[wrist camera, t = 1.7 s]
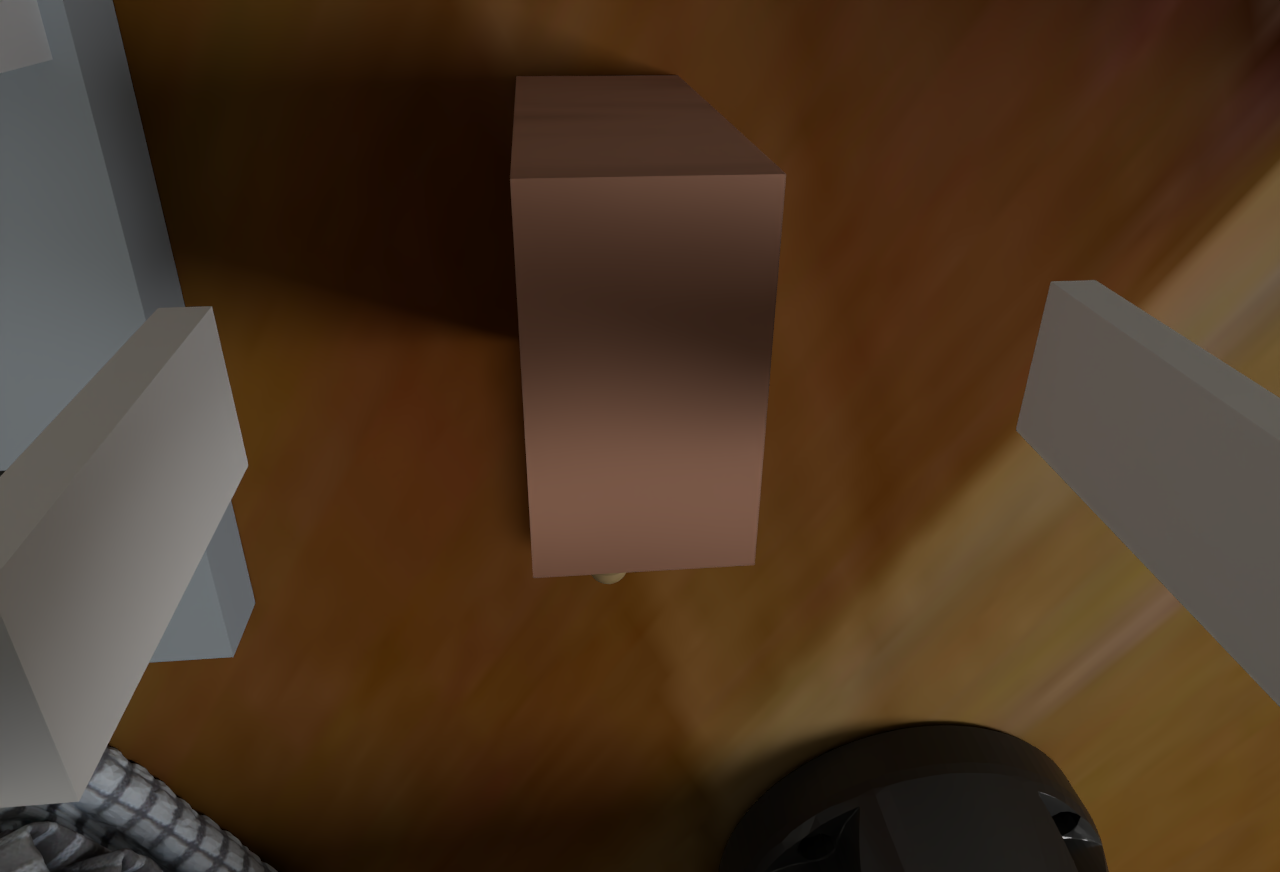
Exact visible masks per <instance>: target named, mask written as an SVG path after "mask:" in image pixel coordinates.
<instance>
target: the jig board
mask: <svg viewBox="0 0 1280 872" xmlns="http://www.w3.org/2000/svg"><path fill="white" fill-rule="evenodd" d="M170 307H185V304H184V300H183V296H182V291H181V287H180V283H179V279H178V275H177V270H176V266H175V262H174V258H173V253H172V249H171V245H170V241H169V237H168V232H167V228H166V224H165V220H164V215H163V211H162V207H161V203H160V199H159V194H158V190H157V186H156V182H155V177H154V173H153V169H152V165H151V161H150V156H149V152H148V148H147V144H146V139H145V135H144V131H143V127H142V123H141V118H140V114H139V110H138V106H137V101H136V97H135V93H134V89H133V85H132V80H131V76H130V72H129V68H128V63H127V59H126V55H125V51H124V47H123V42H122V38H121V34H120V30H119V25H118V21H117V17H116V13H115V9H114V4H113V0H0V471H6V470H7V469H8V468H9V467H10V466H11V465H12V464H13V462H14V461H15V460H16V459H17V458H18V457H19V456H20V455H21V454H22V453H23V452H24V451H25V450H26V449H27V447H28V446H29V445H30V444H31V443H32V442H33V441H34V440H35V439H36V438H37V437H38V436H39V435H40V434H41V433H42V431H43V430H44V429H45V428H46V427H47V426H48V425H49V424H50V423H51V422H52V421H53V420H54V419H55V418H56V416H57V415H58V414H59V413H60V412H61V411H62V410H63V409H64V408H65V407H66V406H67V405H68V404H69V403H70V402H71V400H72V399H73V398H74V397H75V396H76V395H77V394H78V393H79V392H80V391H81V390H82V389H83V388H84V387H85V385H86V384H87V383H88V382H89V381H90V380H91V379H92V378H93V377H94V376H95V375H96V374H97V373H98V372H99V371H100V369H101V368H102V367H103V366H104V365H105V364H106V363H107V362H108V361H109V360H110V359H111V358H112V357H113V356H114V354H115V353H116V352H117V351H118V350H119V349H120V348H121V347H122V346H123V345H124V344H125V343H126V342H127V341H128V340H129V338H130V337H131V336H132V335H133V334H134V333H135V332H136V331H137V330H138V329H139V328H140V327H141V326H142V325H143V323H144V322H145V321H146V320H147V319H148V318H149V317H150V316H151V315H152V314H153V313H154V312H155V311H156V310H157V309H158V308H170ZM254 605H255V600H254V595H253V591H252V587H251V583H250V579H249V574H248V570H247V566H246V562H245V557H244V553H243V549H242V545H241V541H240V536H239V532H238V528H237V524H236V519H235V515H234V511H233V507H232V503H231V501H230V503H229V505H228V507H227V509H226V511H225V513H224V515H223V517H222V519H221V521H220V522H219V524H218V526H217V528H216V530H215V532H214V534H213V536H212V538H211V540H210V542H209V544H208V546H207V548H206V550H205V552H204V554H203V556H202V558H201V560H200V562H199V564H198V566H197V568H196V570H195V572H194V574H193V576H192V578H191V580H190V582H189V584H188V586H187V588H186V590H185V592H184V594H183V596H182V598H181V600H180V602H179V604H178V606H177V608H176V610H175V612H174V614H173V616H172V618H171V620H170V622H169V624H168V626H167V628H166V630H165V632H164V634H163V636H162V638H161V640H160V642H159V644H158V646H157V648H156V650H155V652H154V654H153V656H152V658H151V660H150V662H164V661H180V660H195V659H210V658H225V657H234V654H235V652H236V649H237V647H238V644H239V642H240V639H241V637H242V635H243V632H244V630H245V627H246V625H247V622H248V620H249V617H250V615H251V612H252V610H253V607H254Z"/></svg>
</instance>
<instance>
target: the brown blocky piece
mask: <svg viewBox="0 0 1280 872" xmlns="http://www.w3.org/2000/svg"><path fill="white" fill-rule="evenodd" d="M785 182H786V173H784V172H783V171H782V170H781V169H780V168H779V167H778V166H777V165H776V164H775V163H773V162H772V161H771V160H770V159H769V158H768V157H767V156H766V155H765V154H764V153H762V152H761V151H760V150H759V149H758V148H757V147H756V146H755V145H754V144H753V143H752V142H750V141H749V140H748V139H747V138H746V137H745V136H744V135H743V134H742V133H741V132H739V131H738V130H737V129H736V128H735V127H734V126H733V125H732V124H731V123H730V122H728V121H727V120H726V119H725V118H724V117H723V116H722V115H721V114H720V113H719V112H717V111H716V110H715V109H714V108H713V107H712V106H711V105H710V104H709V103H708V102H707V101H705V100H704V99H703V98H702V97H701V96H700V95H699V94H698V93H697V92H696V91H694V90H693V89H692V88H691V87H690V86H689V85H688V84H687V83H686V82H685V81H683V80H682V79H681V78H680V77H679V76H678V75H631V76H516V89H515V106H514V122H513V138H512V155H511V171H510V187H511V204H512V221H513V239H514V256H515V273H516V290H517V308H518V325H519V342H520V359H521V377H522V394H523V411H524V428H525V446H526V463H527V480H528V497H529V515H530V532H531V549H532V566H533V578H542V577H559V576H576V575H592V576H593V578H594V579H596V580H597V581H598V582H601V583H604V584H612V583H615V582H618V581H619V580H620V579H622V578H623V576H624V575H625V574H626V572H643V571H660V570H677V569H693V568H710V567H727V566H744V565H755V553H756V541H757V528H758V516H759V504H760V491H761V479H762V466H763V454H764V442H765V429H766V417H767V404H768V392H769V380H770V367H771V355H772V343H773V330H774V318H775V305H776V293H777V281H778V268H779V256H780V244H781V231H782V219H783V206H784V194H785Z"/></svg>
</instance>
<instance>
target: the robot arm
mask: <svg viewBox="0 0 1280 872" xmlns="http://www.w3.org/2000/svg"><path fill="white" fill-rule="evenodd" d="M1016 431H1017V432H1018V433H1019V434H1020V435H1021V436H1022V437H1023V438H1024V439H1025V440H1026V441H1027V442H1028V443H1029V444H1030V445H1031V447H1032V448H1033V449H1034V450H1035V451H1036V452H1037V453H1038V454H1039V455H1040V456H1041V457H1042V458H1043V459H1044V460H1045V461H1046V462H1047V463H1048V464H1049V465H1050V466H1051V467H1052V469H1053V470H1054V471H1055V472H1056V473H1057V474H1058V475H1059V476H1060V477H1061V478H1062V479H1063V480H1064V481H1065V482H1066V483H1067V484H1068V485H1069V486H1070V487H1071V488H1072V489H1073V491H1074V492H1075V493H1076V494H1077V495H1078V496H1079V497H1080V498H1081V499H1082V500H1083V501H1084V502H1085V503H1086V504H1087V505H1088V506H1089V507H1090V508H1091V509H1092V510H1093V512H1094V513H1095V514H1096V515H1097V516H1098V517H1099V518H1100V519H1101V520H1102V521H1103V522H1104V523H1105V524H1106V525H1107V526H1108V527H1109V528H1110V529H1111V530H1112V531H1113V532H1114V534H1115V535H1116V536H1117V537H1118V538H1119V539H1120V540H1121V541H1122V542H1123V543H1124V544H1125V545H1126V546H1127V547H1128V548H1129V549H1130V550H1131V551H1132V552H1133V553H1134V554H1135V556H1136V557H1137V558H1138V559H1139V560H1140V561H1141V562H1142V563H1143V564H1144V565H1145V566H1146V567H1147V568H1148V569H1149V570H1150V571H1151V572H1152V573H1153V574H1154V575H1155V577H1156V578H1157V579H1158V580H1159V581H1160V582H1161V583H1162V584H1163V585H1164V586H1165V587H1166V588H1167V589H1168V590H1169V591H1170V592H1171V593H1172V594H1173V595H1174V596H1175V597H1176V599H1177V600H1178V601H1179V602H1180V603H1181V604H1182V605H1183V606H1184V607H1185V608H1186V609H1187V610H1188V611H1189V612H1190V613H1191V614H1192V615H1193V616H1194V617H1195V618H1196V619H1197V621H1198V622H1199V623H1200V624H1201V625H1202V626H1203V627H1204V628H1205V629H1206V630H1207V631H1208V632H1209V633H1210V634H1211V635H1212V636H1213V637H1214V638H1215V639H1216V640H1217V642H1218V643H1219V644H1220V645H1221V646H1222V647H1223V648H1224V649H1225V650H1226V651H1227V652H1228V653H1229V654H1230V655H1231V656H1232V657H1233V658H1234V659H1235V660H1236V661H1237V662H1238V664H1239V665H1240V666H1241V667H1242V668H1243V669H1244V670H1245V671H1246V672H1247V673H1248V674H1249V675H1250V676H1251V677H1252V678H1253V679H1254V680H1255V681H1256V682H1257V683H1258V684H1259V686H1260V687H1261V688H1262V689H1263V690H1264V691H1265V692H1266V693H1267V694H1268V695H1269V696H1270V697H1271V698H1272V699H1273V700H1274V701H1275V702H1276V703H1277V704H1278V705H1279V707H1280V398H1279V397H1277V396H1276V395H1274V394H1273V393H1271V392H1269V391H1268V390H1266V389H1265V388H1263V387H1262V386H1260V385H1258V384H1257V383H1255V382H1254V381H1252V380H1251V379H1249V378H1247V377H1246V376H1244V375H1243V374H1241V373H1240V372H1238V371H1237V370H1235V369H1233V368H1232V367H1230V366H1229V365H1227V364H1226V363H1224V362H1222V361H1221V360H1219V359H1218V358H1216V357H1215V356H1213V355H1212V354H1210V353H1208V352H1207V351H1205V350H1204V349H1202V348H1201V347H1199V346H1197V345H1196V344H1194V343H1193V342H1191V341H1190V340H1188V339H1186V338H1185V337H1183V336H1182V335H1180V334H1179V333H1177V332H1176V331H1174V330H1172V329H1171V328H1169V327H1168V326H1166V325H1165V324H1163V323H1161V322H1160V321H1158V320H1157V319H1155V318H1154V317H1152V316H1151V315H1149V314H1147V313H1146V312H1144V311H1143V310H1141V309H1140V308H1138V307H1136V306H1135V305H1133V304H1132V303H1130V302H1129V301H1127V300H1126V299H1124V298H1122V297H1121V296H1119V295H1118V294H1116V293H1115V292H1113V291H1111V290H1110V289H1108V288H1107V287H1105V286H1104V285H1102V284H1100V283H1099V282H1097V281H1096V280H1089V281H1055V282H1051V283H1050V288H1049V292H1048V296H1047V300H1046V305H1045V309H1044V313H1043V317H1042V322H1041V326H1040V330H1039V334H1038V338H1037V343H1036V347H1035V351H1034V355H1033V360H1032V364H1031V368H1030V372H1029V377H1028V381H1027V385H1026V389H1025V394H1024V398H1023V402H1022V406H1021V411H1020V415H1019V419H1018V423H1017V428H1016ZM247 467H248V462H247V457H246V453H245V449H244V444H243V440H242V435H241V431H240V427H239V422H238V418H237V414H236V409H235V405H234V400H233V396H232V392H231V387H230V383H229V379H228V374H227V370H226V366H225V361H224V357H223V352H222V348H221V344H220V339H219V335H218V331H217V326H216V322H215V317H214V313H213V309H212V306H204V307H170V308H158V309H157V310H156V311H155V312H154V313H153V314H152V315H151V316H150V317H149V318H148V319H147V320H146V321H145V322H144V323H143V325H142V326H141V327H140V328H139V329H138V330H137V331H136V332H135V333H134V334H133V335H132V336H131V337H130V338H129V340H128V341H127V342H126V343H125V344H124V345H123V346H122V347H121V348H120V349H119V350H118V351H117V352H116V353H115V354H114V356H113V357H112V358H111V359H110V360H109V361H108V362H107V363H106V364H105V365H104V366H103V367H102V368H101V369H100V371H99V372H98V373H97V374H96V375H95V376H94V377H93V378H92V379H91V380H90V381H89V382H88V383H87V384H86V385H85V387H84V388H83V389H82V390H81V391H80V392H79V393H78V394H77V395H76V396H75V397H74V398H73V399H72V400H71V402H70V403H69V404H68V405H67V406H66V407H65V408H64V409H63V410H62V411H61V412H60V413H59V414H58V415H57V416H56V418H55V419H54V420H53V421H52V422H51V423H50V424H49V425H48V426H47V427H46V428H45V429H44V430H43V431H42V433H41V434H40V435H39V436H38V437H37V438H36V439H35V440H34V441H33V442H32V443H31V444H30V445H29V446H28V447H27V449H26V450H25V451H24V452H23V453H22V454H21V455H20V456H19V457H18V458H17V459H16V460H15V461H14V462H13V464H12V465H11V466H10V467H9V468H8V469H7V470H6V471H0V808H5V807H17V806H30V805H43V804H55V803H68V802H79V801H80V799H81V797H82V795H83V793H84V791H85V789H86V787H87V785H88V783H89V781H90V779H91V777H92V775H93V773H94V771H95V769H96V767H97V765H98V763H99V761H100V759H101V757H102V755H103V753H104V751H105V749H106V747H107V745H108V743H109V741H110V739H111V737H112V735H113V733H114V731H115V729H116V727H117V725H118V723H119V721H120V719H121V717H122V715H123V713H124V711H125V709H126V707H127V705H128V703H129V701H130V699H131V697H132V695H133V693H134V691H135V689H136V687H137V685H138V683H139V681H140V679H141V677H142V675H143V673H144V671H145V669H146V667H147V665H148V664H149V662H150V660H151V658H152V656H153V654H154V652H155V650H156V648H157V646H158V644H159V642H160V640H161V638H162V636H163V634H164V632H165V630H166V628H167V626H168V624H169V622H170V620H171V618H172V616H173V614H174V612H175V610H176V608H177V606H178V604H179V602H180V600H181V598H182V596H183V594H184V592H185V590H186V588H187V586H188V584H189V582H190V580H191V578H192V576H193V574H194V572H195V570H196V568H197V566H198V564H199V562H200V560H201V558H202V556H203V554H204V552H205V550H206V548H207V546H208V544H209V542H210V540H211V538H212V536H213V534H214V532H215V530H216V528H217V526H218V524H219V522H220V521H221V519H222V517H223V515H224V513H225V511H226V509H227V507H228V505H229V503H230V501H231V499H232V497H233V495H234V493H235V491H236V489H237V487H238V485H239V483H240V481H241V479H242V477H243V475H244V473H245V471H246V469H247ZM719 872H1109V871H1108V867H1107V863H1106V859H1105V854H1104V850H1103V846H1102V842H1101V839H1100V836H1099V834H1098V831H1097V829H1096V826H1095V824H1094V822H1093V820H1092V818H1091V816H1090V814H1089V813H1088V811H1087V809H1086V808H1085V806H1084V805H1083V803H1082V801H1081V800H1080V798H1079V797H1078V795H1077V794H1076V792H1075V791H1074V789H1073V787H1072V786H1071V784H1070V783H1069V781H1068V780H1067V778H1066V776H1065V775H1064V774H1063V772H1062V771H1061V769H1060V768H1059V767H1058V766H1057V765H1056V764H1055V763H1054V762H1053V760H1051V759H1050V758H1049V757H1048V756H1047V755H1046V754H1044V753H1043V752H1042V751H1040V750H1039V749H1037V748H1036V747H1034V746H1032V745H1030V744H1029V743H1027V742H1025V741H1022V740H1020V739H1018V738H1016V737H1013V736H1010V735H1007V734H1004V733H1001V732H997V731H993V730H988V729H983V728H976V727H969V726H954V725H939V726H923V727H913V728H907V729H900V730H895V731H890V732H886V733H881V734H878V735H874V736H870V737H867V738H864V739H861V740H858V741H854V742H852V743H849V744H846V745H844V746H841V747H839V748H837V749H834V750H832V751H830V752H828V753H825V754H823V755H821V756H819V757H817V758H816V759H814V760H812V761H810V762H808V763H807V764H805V765H803V766H801V767H800V768H798V769H797V770H795V771H794V772H792V773H791V774H789V775H788V776H786V777H785V778H783V779H782V780H781V781H779V782H778V783H777V784H776V785H774V786H773V787H772V788H771V789H770V790H768V791H767V792H766V793H765V794H764V795H763V796H762V797H761V798H760V799H759V800H758V801H757V802H756V803H755V804H754V805H753V806H752V807H751V808H750V809H749V811H748V812H747V813H746V814H745V816H744V817H743V818H742V819H741V821H740V822H739V824H738V825H737V827H736V828H735V830H734V832H733V833H732V835H731V837H730V839H729V841H728V843H727V845H726V847H725V850H724V853H723V856H722V859H721V863H720V867H719Z"/></svg>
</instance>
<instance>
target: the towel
mask: <svg viewBox="0 0 1280 872" xmlns="http://www.w3.org/2000/svg"><path fill="white" fill-rule="evenodd" d="M0 872H278V871H276V870H275V869H274V868H273V867H272V866H270V865H269V864H267V863H264V862H262V861H261V860H260V858H259V857H258V856H257V855H256V854H254V853H253V852H251V851H250V850H249V849H248V847H246V846H244V845H242V844H241V842H240V841H239V839H238V838H236V837H235V836H233V835H232V834H231V833H230V832H228V831H224V830H221V829H220V827H219V826H218V824H216V823H215V822H214V821H213V820H212V819H210V818H209V817H207V816H206V815H199V814H198V813H197V812H196V811H195V810H193V809H192V808H191V807H190V805H189V803H187V802H186V801H185V800H183V799H181V798H178V797H176V795H175V793H174V792H173V791H172V790H171V789H170V788H169V787H168V786H167V785H166V784H165V783H164V782H162V781H160V780H157V779H154V777H153V775H151V774H150V773H149V772H148V771H147V770H146V769H145V768H144V767H142V766H140V765H138V764H136V763H131V762H129V761H128V760H127V759H126V758H125V757H124V756H123V755H122V753H121V752H120V751H119V750H117V749H116V748H112V747H108V746H107V747H106V749H105V751H104V753H103V755H102V757H101V759H100V761H99V763H98V765H97V767H96V769H95V771H94V773H93V775H92V777H91V779H90V781H89V783H88V785H87V787H86V789H85V791H84V793H83V795H82V797H81V799H80V801H79V802H68V803H55V804H43V805H30V806H17V807H5V808H0Z"/></svg>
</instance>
